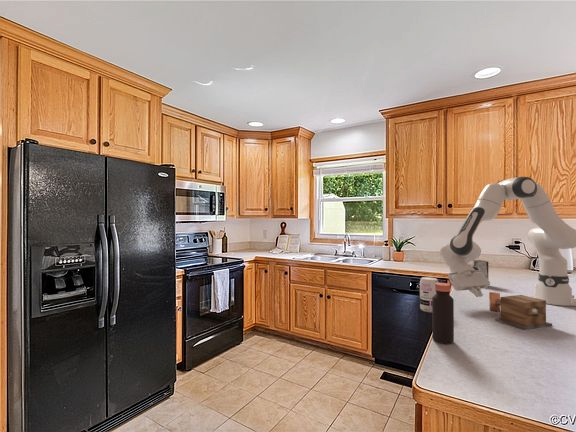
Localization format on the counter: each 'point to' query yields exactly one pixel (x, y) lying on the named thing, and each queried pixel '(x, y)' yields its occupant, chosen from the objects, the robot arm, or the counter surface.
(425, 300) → the supplement can
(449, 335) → the bottle
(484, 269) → the coffee box
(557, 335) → the counter surface
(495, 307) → the shaft
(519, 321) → the block
